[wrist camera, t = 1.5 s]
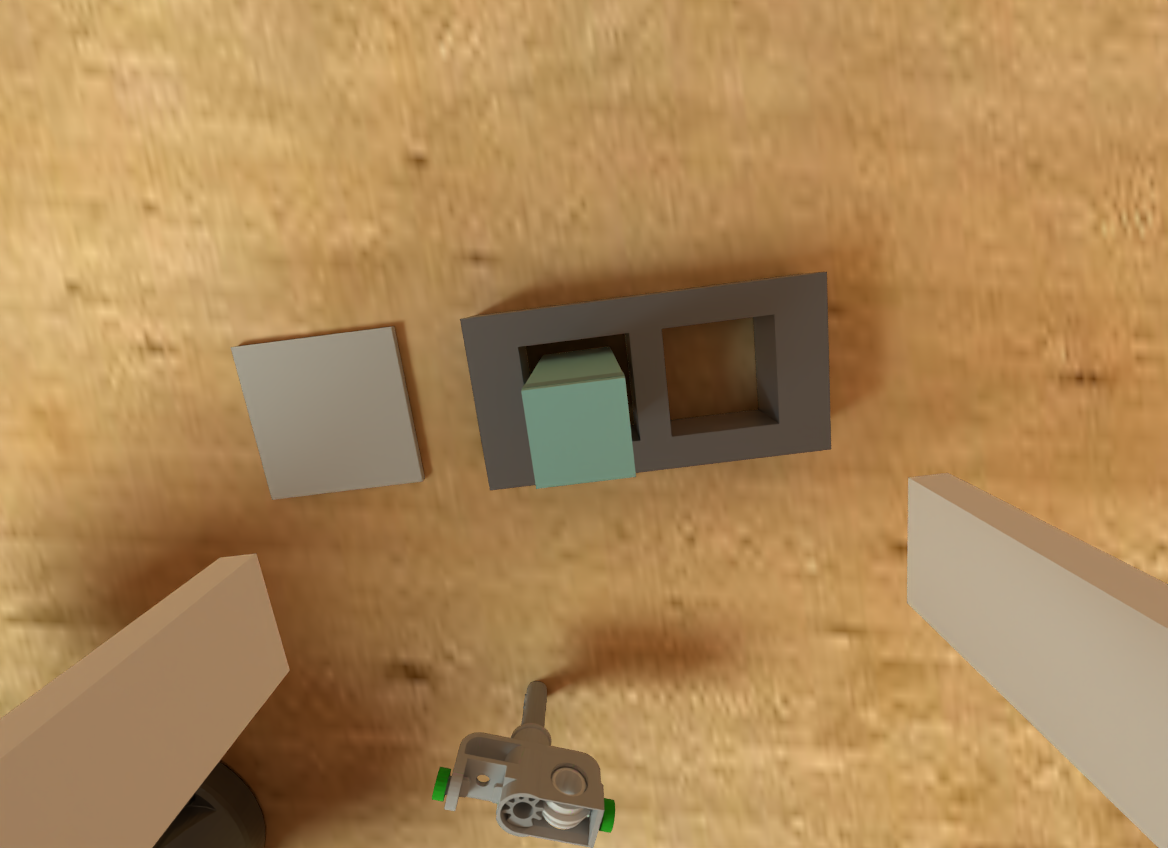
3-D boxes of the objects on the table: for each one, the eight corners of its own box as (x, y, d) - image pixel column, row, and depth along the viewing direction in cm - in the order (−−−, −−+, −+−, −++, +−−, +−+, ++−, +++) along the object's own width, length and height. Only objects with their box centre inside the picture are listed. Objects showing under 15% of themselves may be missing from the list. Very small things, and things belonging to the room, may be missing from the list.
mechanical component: (471, 659, 40) (436, 776, 30) (610, 687, 41) (618, 811, 31) (463, 693, 41) (426, 820, 31) (600, 720, 41) (606, 853, 32)
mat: (276, 496, 37) (271, 499, 37) (236, 346, 35) (230, 347, 34) (424, 478, 37) (422, 481, 36) (394, 326, 35) (391, 326, 34)
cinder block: (499, 469, 37) (490, 490, 33) (473, 315, 35) (460, 319, 31) (804, 432, 36) (831, 449, 32) (798, 274, 34) (826, 271, 30)
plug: (552, 419, 36) (536, 489, 23) (542, 354, 35) (520, 390, 22) (617, 411, 36) (636, 477, 23) (610, 345, 35) (625, 377, 22)
